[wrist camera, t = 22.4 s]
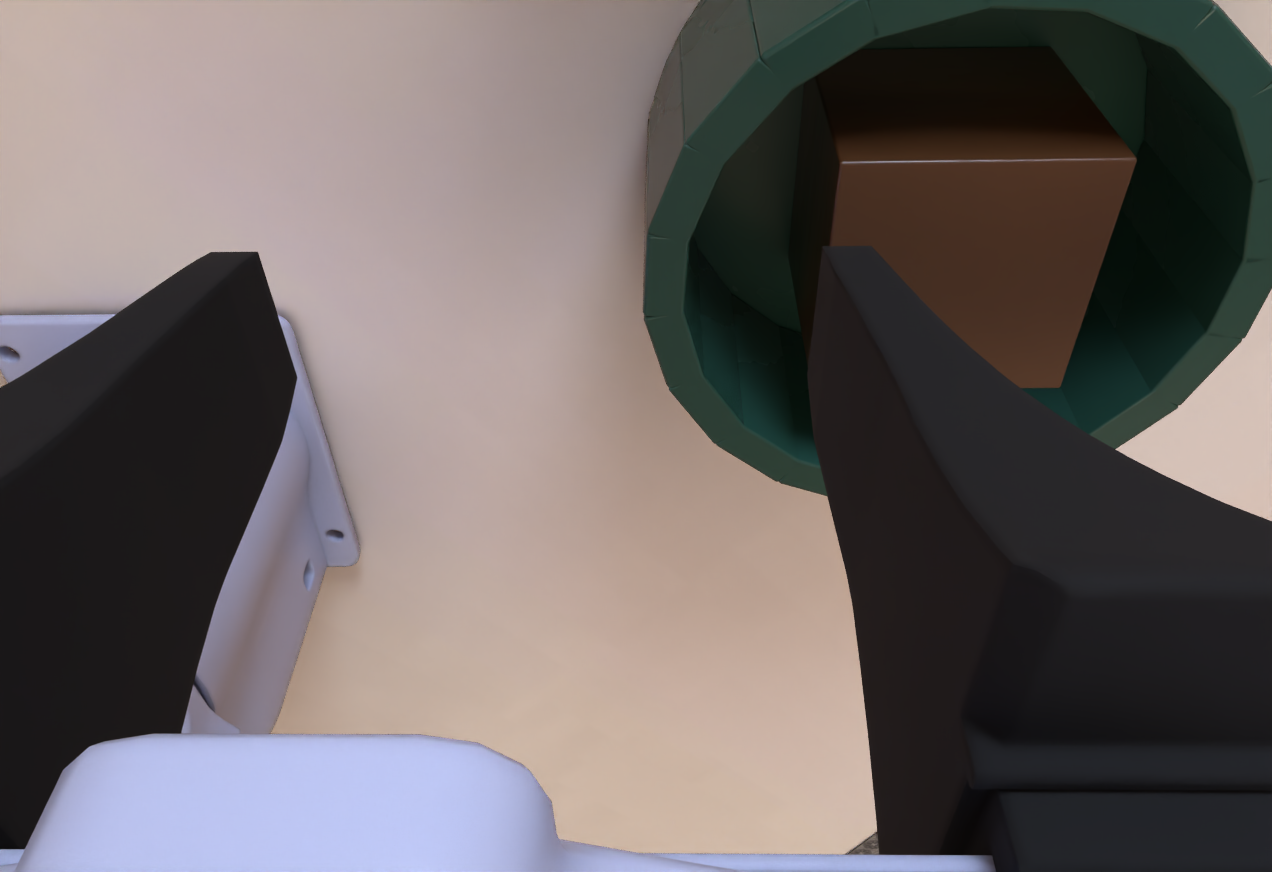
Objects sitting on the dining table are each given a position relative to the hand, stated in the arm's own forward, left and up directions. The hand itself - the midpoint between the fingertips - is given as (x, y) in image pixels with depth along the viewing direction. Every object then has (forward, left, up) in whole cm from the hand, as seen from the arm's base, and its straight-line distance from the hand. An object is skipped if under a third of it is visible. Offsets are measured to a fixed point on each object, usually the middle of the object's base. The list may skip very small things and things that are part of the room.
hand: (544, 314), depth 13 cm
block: (-3, -7, -10) cm, 13 cm away
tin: (-3, -7, -10) cm, 13 cm away
